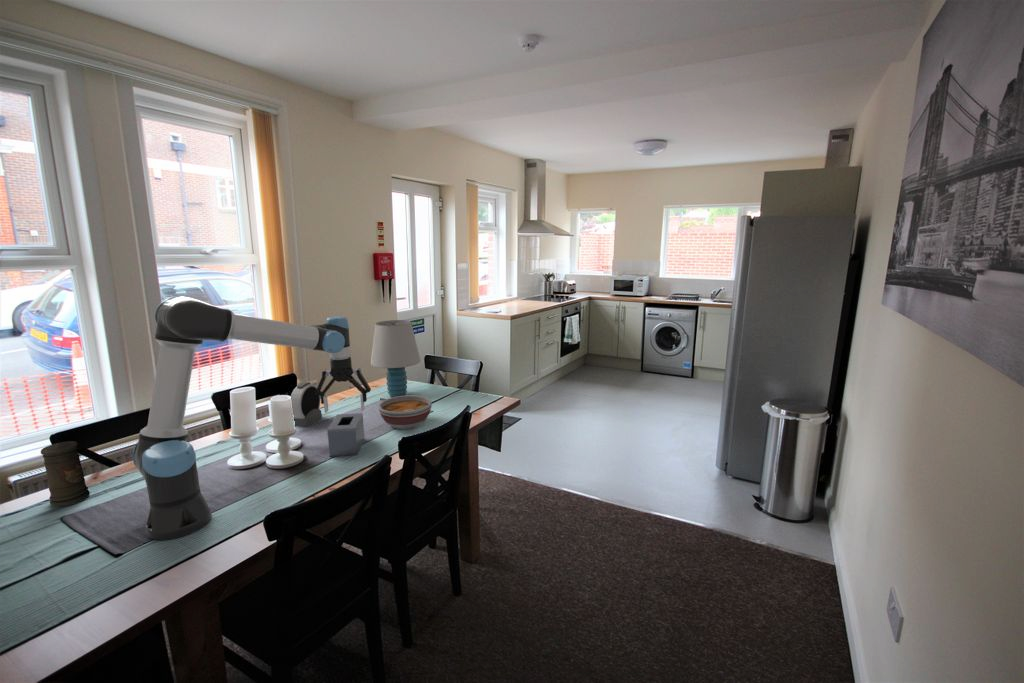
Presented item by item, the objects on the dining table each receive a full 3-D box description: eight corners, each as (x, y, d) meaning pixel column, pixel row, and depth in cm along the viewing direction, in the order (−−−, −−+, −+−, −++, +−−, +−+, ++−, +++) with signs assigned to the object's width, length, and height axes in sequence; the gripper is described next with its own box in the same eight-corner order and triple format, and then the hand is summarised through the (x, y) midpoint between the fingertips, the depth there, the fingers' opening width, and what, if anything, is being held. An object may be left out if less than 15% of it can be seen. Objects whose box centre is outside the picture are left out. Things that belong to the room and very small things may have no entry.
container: (43, 509, 141) (30, 454, 138) (62, 494, 150) (51, 442, 146) (79, 504, 143) (67, 450, 140) (96, 490, 152) (85, 438, 148)
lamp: (407, 385, 265) (404, 317, 257) (430, 396, 246) (427, 322, 238) (365, 394, 249) (359, 322, 241) (385, 406, 230) (380, 328, 222)
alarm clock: (307, 428, 203) (303, 388, 199) (286, 427, 204) (281, 387, 201) (327, 415, 218) (324, 378, 215) (307, 414, 220) (303, 377, 216)
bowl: (437, 429, 200) (436, 407, 198) (383, 438, 192) (381, 415, 190) (426, 412, 221) (426, 392, 219) (377, 419, 213) (375, 398, 211)
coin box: (364, 438, 192) (362, 413, 190) (357, 455, 176) (355, 427, 174) (339, 439, 191) (337, 414, 188) (329, 457, 175) (327, 429, 173)
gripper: (375, 353, 182) (379, 405, 186) (308, 356, 178) (313, 409, 182) (372, 358, 174) (376, 412, 178) (303, 361, 171) (308, 415, 175)
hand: (344, 410), depth 180 cm, fingers open, 13 cm apart
